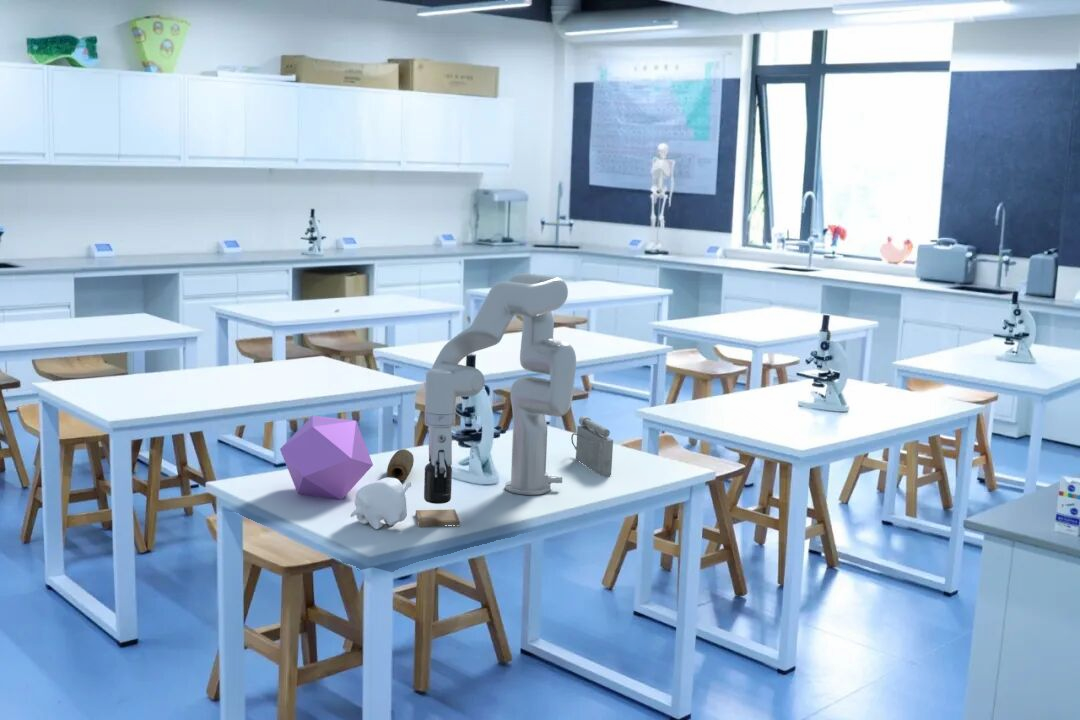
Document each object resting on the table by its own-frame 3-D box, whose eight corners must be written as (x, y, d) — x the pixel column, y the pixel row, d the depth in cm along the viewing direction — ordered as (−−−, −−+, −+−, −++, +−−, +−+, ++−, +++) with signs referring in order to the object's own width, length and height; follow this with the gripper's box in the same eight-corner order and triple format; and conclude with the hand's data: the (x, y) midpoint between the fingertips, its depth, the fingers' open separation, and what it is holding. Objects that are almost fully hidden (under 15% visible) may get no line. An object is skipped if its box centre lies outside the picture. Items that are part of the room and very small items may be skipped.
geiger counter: (617, 429, 333) (583, 411, 356) (597, 430, 331) (564, 412, 354) (615, 475, 336) (580, 454, 359) (595, 477, 333) (562, 455, 356)
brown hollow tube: (389, 469, 334) (390, 447, 332) (413, 469, 334) (414, 447, 333) (386, 483, 319) (386, 460, 318) (411, 484, 319) (411, 460, 318)
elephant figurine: (383, 530, 290) (365, 488, 291) (434, 505, 281) (415, 462, 282) (353, 543, 280) (333, 500, 281) (404, 519, 271) (384, 474, 272)
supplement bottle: (418, 499, 287) (419, 452, 285) (439, 495, 291) (440, 449, 290) (435, 505, 282) (436, 458, 280) (456, 501, 287) (458, 454, 285)
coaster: (454, 513, 294) (454, 509, 293) (459, 526, 284) (459, 521, 284) (415, 514, 292) (415, 509, 291) (419, 527, 282) (419, 522, 282)
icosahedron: (394, 476, 301) (364, 392, 309) (323, 489, 287) (293, 400, 295) (357, 509, 317) (329, 428, 324) (288, 522, 303) (261, 438, 310)
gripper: (459, 426, 276) (457, 498, 279) (450, 411, 292) (448, 479, 295) (428, 426, 274) (426, 498, 277) (421, 411, 291) (419, 479, 294)
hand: (437, 487), depth 286 cm, fingers closed on supplement bottle, 6 cm apart
